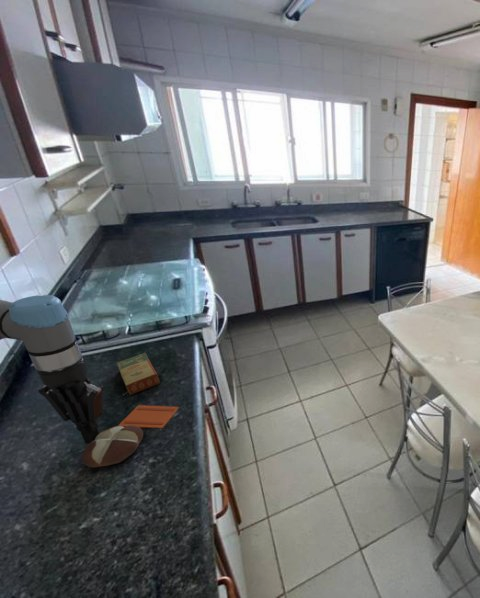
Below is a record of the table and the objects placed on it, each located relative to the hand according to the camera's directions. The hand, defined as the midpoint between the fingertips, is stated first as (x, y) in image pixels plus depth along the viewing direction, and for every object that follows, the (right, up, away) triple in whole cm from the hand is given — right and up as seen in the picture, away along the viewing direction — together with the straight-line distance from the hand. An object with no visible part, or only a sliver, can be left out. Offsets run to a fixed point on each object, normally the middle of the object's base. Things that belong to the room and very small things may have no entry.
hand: (92, 439), depth 83 cm
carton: (-8, +9, +25) cm, 28 cm away
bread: (+6, -3, 0) cm, 7 cm away
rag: (+6, +2, +11) cm, 13 cm away
